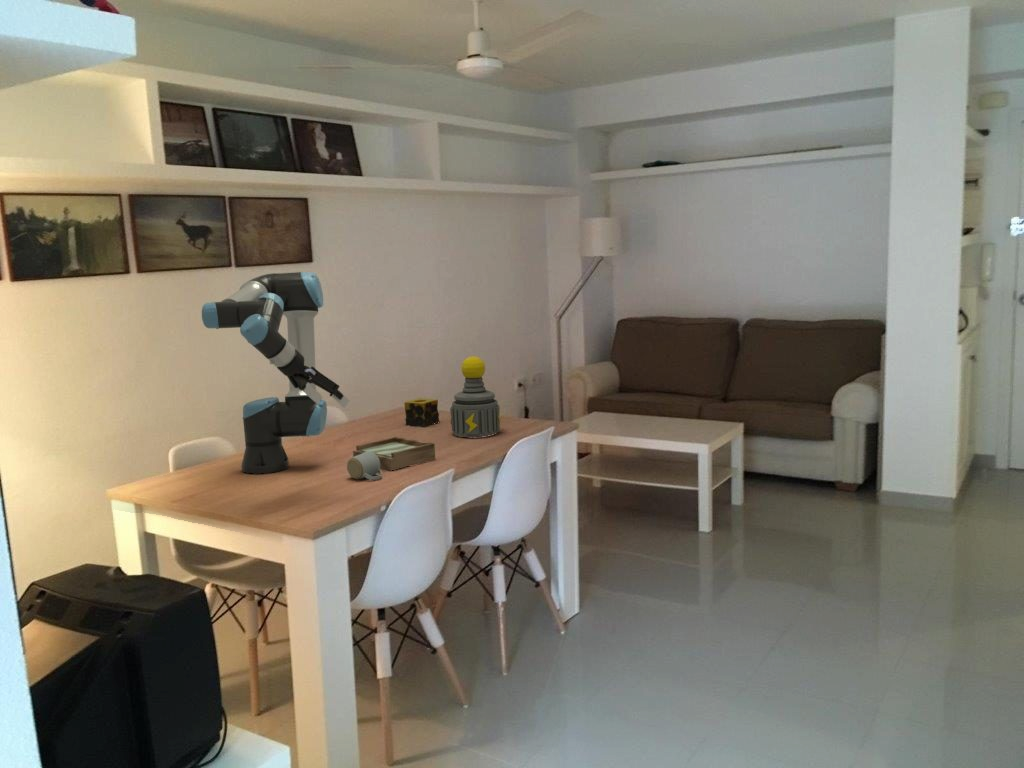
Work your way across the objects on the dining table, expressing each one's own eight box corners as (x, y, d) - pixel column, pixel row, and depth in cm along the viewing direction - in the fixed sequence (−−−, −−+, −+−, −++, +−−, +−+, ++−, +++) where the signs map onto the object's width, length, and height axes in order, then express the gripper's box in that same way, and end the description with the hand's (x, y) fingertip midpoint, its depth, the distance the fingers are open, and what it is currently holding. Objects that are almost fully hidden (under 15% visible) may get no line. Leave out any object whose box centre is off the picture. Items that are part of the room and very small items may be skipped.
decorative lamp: (503, 428, 332) (500, 352, 328) (497, 438, 314) (494, 358, 309) (456, 429, 335) (452, 354, 330) (447, 439, 316) (443, 360, 312)
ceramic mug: (345, 478, 264) (344, 454, 263) (364, 472, 271) (363, 449, 269) (370, 483, 258) (368, 459, 257) (388, 477, 264) (387, 453, 263)
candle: (440, 423, 348) (438, 399, 347) (424, 427, 340) (423, 403, 338) (420, 421, 353) (419, 397, 352) (405, 425, 345) (403, 401, 343)
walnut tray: (353, 462, 285) (352, 446, 284) (397, 451, 298) (396, 436, 298) (391, 471, 271) (390, 454, 270) (435, 459, 285) (434, 443, 284)
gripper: (254, 365, 247) (302, 408, 260) (303, 371, 230) (351, 416, 244) (269, 346, 250) (315, 389, 263) (318, 350, 234) (365, 395, 247)
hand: (333, 402), depth 253 cm, fingers open, 13 cm apart
